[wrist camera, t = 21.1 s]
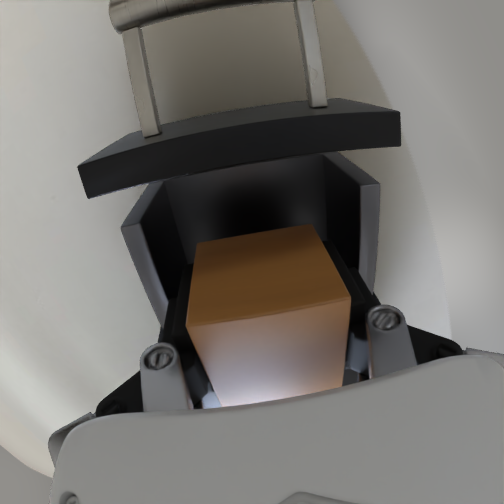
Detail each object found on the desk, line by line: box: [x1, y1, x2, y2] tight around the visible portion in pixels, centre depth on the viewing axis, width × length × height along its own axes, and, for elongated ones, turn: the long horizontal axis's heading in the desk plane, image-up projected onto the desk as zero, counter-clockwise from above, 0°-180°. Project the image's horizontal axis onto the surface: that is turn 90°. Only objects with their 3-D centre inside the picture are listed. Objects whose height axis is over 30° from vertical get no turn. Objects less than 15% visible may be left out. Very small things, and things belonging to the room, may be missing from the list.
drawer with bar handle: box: [77, 0, 401, 328], centre depth 12 cm, size 18×10×6 cm, turn 8°
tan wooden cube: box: [186, 224, 351, 407], centre depth 11 cm, size 4×4×4 cm
